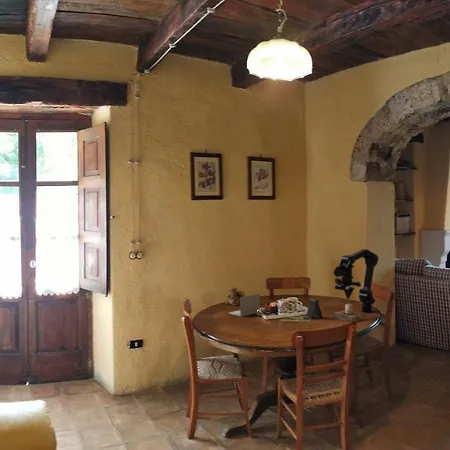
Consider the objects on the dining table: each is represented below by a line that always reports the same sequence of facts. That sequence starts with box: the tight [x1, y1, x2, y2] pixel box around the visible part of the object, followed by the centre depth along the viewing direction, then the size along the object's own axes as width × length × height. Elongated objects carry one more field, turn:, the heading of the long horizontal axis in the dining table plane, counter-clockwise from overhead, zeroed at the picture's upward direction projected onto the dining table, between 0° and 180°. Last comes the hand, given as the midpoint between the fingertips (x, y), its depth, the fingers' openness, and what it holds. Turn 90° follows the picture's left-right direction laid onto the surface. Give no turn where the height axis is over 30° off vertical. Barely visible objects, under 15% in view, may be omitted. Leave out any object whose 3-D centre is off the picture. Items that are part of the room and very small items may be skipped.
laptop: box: [229, 293, 261, 317], centre depth 336 cm, size 18×12×13 cm
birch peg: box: [344, 303, 353, 315], centre depth 315 cm, size 4×4×9 cm
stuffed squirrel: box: [224, 286, 246, 307], centre depth 365 cm, size 10×14×13 cm
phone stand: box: [306, 298, 323, 320], centre depth 320 cm, size 9×6×12 cm, turn 117°
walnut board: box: [332, 310, 366, 323], centre depth 316 cm, size 12×16×3 cm
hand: (348, 298), depth 321 cm, fingers closed
